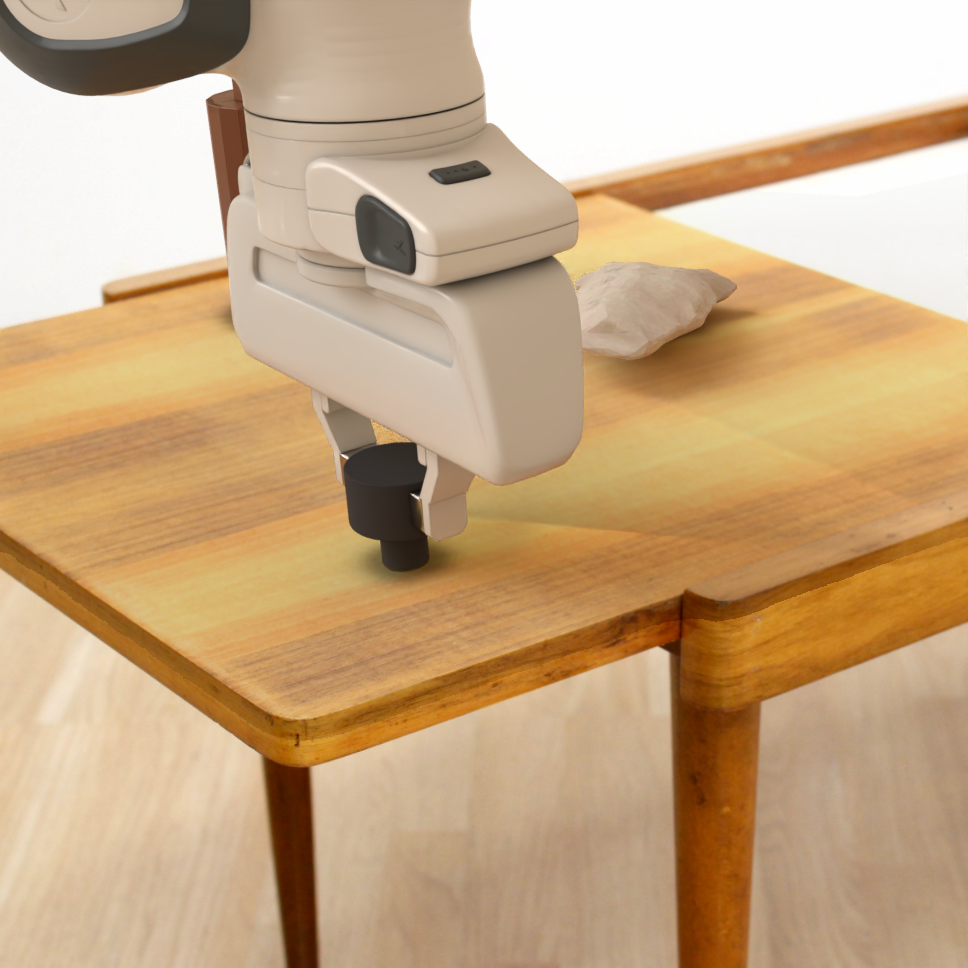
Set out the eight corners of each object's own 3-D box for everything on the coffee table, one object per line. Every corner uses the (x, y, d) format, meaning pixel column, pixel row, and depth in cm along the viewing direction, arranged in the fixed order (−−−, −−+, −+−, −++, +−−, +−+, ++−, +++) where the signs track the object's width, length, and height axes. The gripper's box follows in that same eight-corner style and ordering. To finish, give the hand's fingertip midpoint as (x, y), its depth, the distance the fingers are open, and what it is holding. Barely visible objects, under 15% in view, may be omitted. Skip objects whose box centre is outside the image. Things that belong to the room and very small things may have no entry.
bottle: (270, 339, 91) (230, 19, 83) (215, 311, 96) (172, 7, 87) (370, 312, 94) (341, 3, 86) (312, 287, 99) (279, -8, 91)
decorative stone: (742, 239, 91) (693, 323, 78) (738, 309, 93) (690, 402, 80) (580, 228, 93) (507, 308, 80) (581, 297, 95) (510, 386, 82)
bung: (390, 596, 63) (380, 495, 61) (333, 558, 66) (322, 461, 64) (478, 561, 65) (472, 463, 63) (419, 527, 68) (411, 432, 66)
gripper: (170, 147, 64) (215, 455, 70) (459, 249, 49) (483, 626, 55) (303, 122, 67) (335, 417, 73) (611, 210, 53) (617, 569, 59)
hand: (401, 509), depth 64 cm, fingers closed on bung, 4 cm apart
